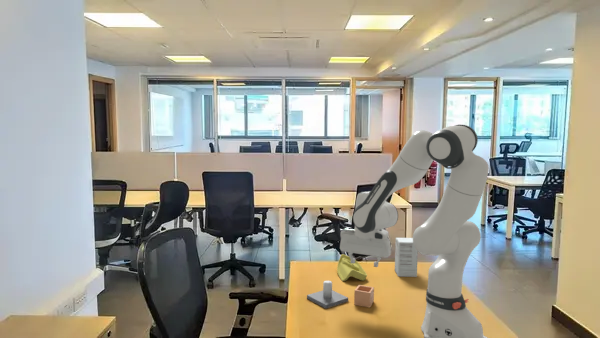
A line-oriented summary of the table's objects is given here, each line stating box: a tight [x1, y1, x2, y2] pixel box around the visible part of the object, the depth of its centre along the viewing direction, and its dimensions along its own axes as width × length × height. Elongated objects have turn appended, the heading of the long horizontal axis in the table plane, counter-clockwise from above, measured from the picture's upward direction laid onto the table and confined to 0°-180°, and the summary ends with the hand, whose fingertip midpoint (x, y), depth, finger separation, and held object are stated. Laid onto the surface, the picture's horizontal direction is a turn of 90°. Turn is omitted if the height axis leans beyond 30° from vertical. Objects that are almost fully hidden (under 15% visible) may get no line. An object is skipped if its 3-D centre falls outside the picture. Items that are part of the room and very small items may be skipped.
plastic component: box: [336, 253, 368, 282], centre depth 203 cm, size 20×7×10 cm
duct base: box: [306, 280, 349, 309], centre depth 172 cm, size 12×12×8 cm
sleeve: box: [353, 284, 375, 308], centre depth 170 cm, size 6×6×6 cm
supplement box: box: [394, 237, 419, 278], centre depth 205 cm, size 10×9×17 cm
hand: (364, 264), depth 169 cm, fingers open, 8 cm apart
